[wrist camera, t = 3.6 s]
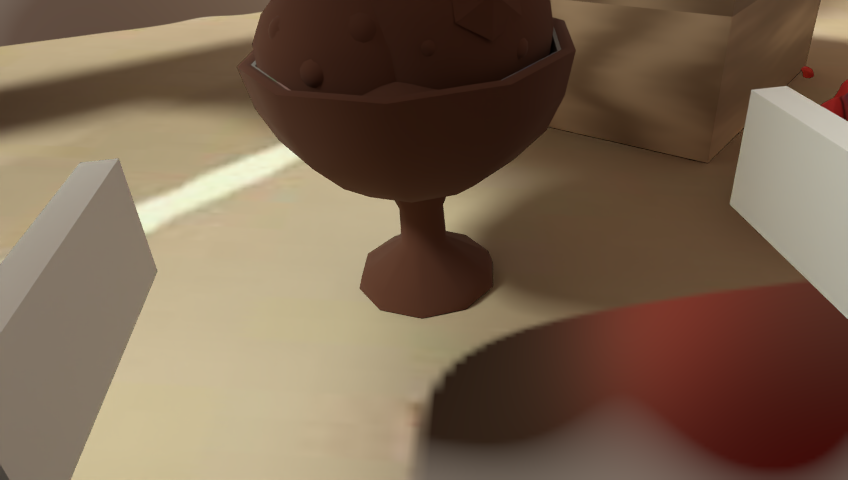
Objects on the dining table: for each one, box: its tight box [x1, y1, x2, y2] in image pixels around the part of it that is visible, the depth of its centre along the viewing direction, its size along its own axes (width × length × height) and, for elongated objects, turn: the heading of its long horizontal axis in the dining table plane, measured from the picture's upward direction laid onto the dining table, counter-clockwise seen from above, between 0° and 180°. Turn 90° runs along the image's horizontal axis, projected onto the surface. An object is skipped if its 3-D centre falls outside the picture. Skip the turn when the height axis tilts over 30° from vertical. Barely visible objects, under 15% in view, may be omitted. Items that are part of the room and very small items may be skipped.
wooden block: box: [548, 0, 821, 163], centre depth 40 cm, size 12×17×8 cm
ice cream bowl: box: [237, 0, 576, 318], centre depth 23 cm, size 11×11×15 cm
